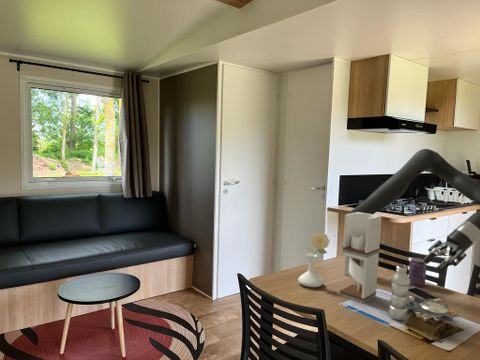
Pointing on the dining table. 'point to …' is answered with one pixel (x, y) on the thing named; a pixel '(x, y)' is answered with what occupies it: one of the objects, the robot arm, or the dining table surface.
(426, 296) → the smartphone
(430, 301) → the sprocket plate
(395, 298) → the silver bottle
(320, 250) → the flower in vase
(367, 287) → the display case
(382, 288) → the dining table surface
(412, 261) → the beverage can
